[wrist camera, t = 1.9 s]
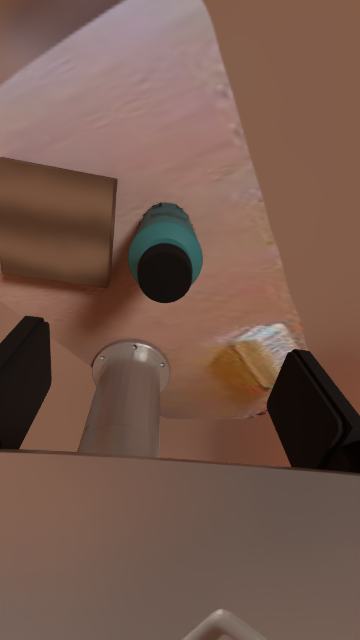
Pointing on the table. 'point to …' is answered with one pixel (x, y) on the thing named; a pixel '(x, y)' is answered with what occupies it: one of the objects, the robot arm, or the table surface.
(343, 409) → the robot arm
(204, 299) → the table surface
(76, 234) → the walnut plinth
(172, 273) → the beverage bottle
